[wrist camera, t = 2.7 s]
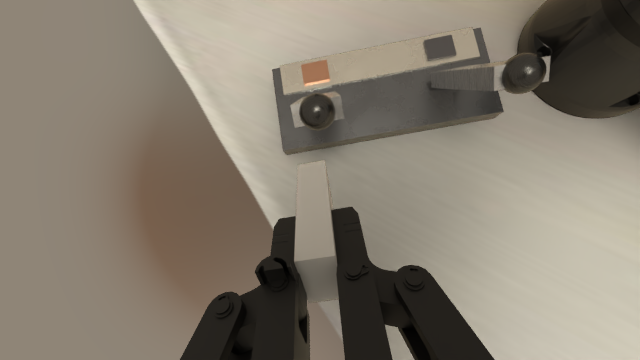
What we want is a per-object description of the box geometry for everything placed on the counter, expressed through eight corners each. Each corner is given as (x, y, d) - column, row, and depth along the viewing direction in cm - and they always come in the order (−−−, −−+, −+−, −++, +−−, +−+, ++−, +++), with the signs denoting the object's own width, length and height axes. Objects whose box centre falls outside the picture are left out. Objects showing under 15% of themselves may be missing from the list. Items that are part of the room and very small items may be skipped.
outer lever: (337, 110, 32) (346, 128, 19) (306, 115, 32) (294, 137, 19) (334, 86, 31) (340, 88, 18) (301, 92, 31) (286, 99, 18)
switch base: (493, 118, 32) (506, 109, 29) (286, 154, 34) (282, 149, 31) (472, 38, 33) (482, 23, 31) (276, 77, 35) (270, 65, 33)
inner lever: (465, 86, 31) (563, 89, 18) (431, 92, 31) (505, 99, 18) (465, 60, 30) (567, 45, 17) (430, 67, 30) (506, 56, 17)
